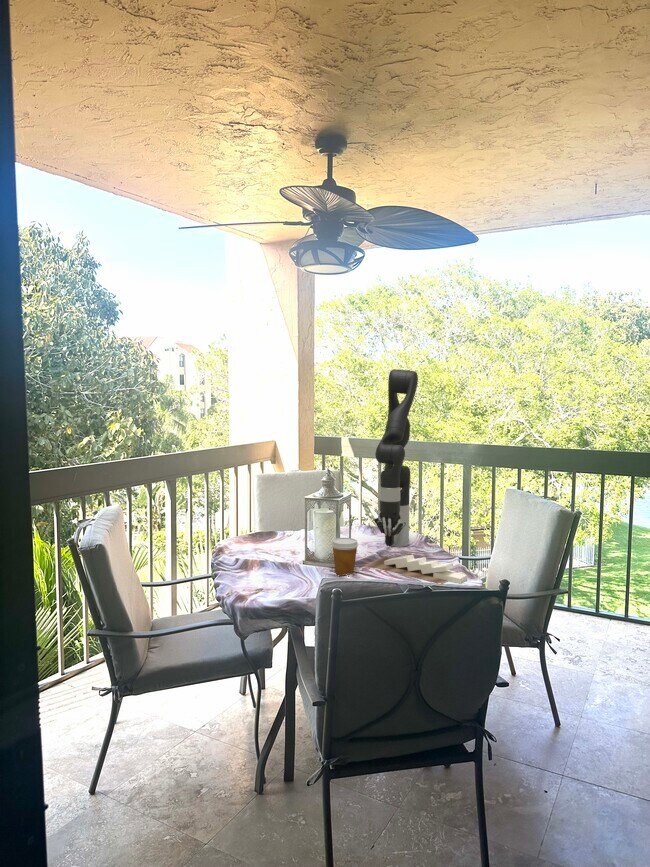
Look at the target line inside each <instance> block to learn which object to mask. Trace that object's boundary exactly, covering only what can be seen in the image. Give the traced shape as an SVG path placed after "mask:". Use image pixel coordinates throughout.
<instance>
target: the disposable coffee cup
mask: <svg viewBox="0 0 650 867" xmlns="http://www.w3.org/2000/svg"><path fill="white" fill-rule="evenodd" d="M358 546H359V542H358V541H357V539H356V538H353V537H337V538H334V539H332V542H331V548H332V553H333V561H334V569H335V575H336V576H338V575H340V576H339V577H342V576H348V575H351V574H353V573H354V572H355V567H356V565H355V564H356V558H357V550H358Z"/></svg>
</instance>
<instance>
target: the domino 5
mask: <svg viewBox="0 0 650 867" xmlns="http://www.w3.org/2000/svg"><path fill="white" fill-rule="evenodd" d="M433 577H434V578H439V579H443V580H447V581H448V582H451V583H456V584H462V583H464V582H466V581H467V580H468V575H467V574H464V573H459V572H455V571H452V570H451V571H450V570H448V571H443V572H435V573H433Z"/></svg>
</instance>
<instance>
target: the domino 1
mask: <svg viewBox="0 0 650 867" xmlns="http://www.w3.org/2000/svg"><path fill="white" fill-rule="evenodd" d="M390 558H391V559H388V560H386V561H384V564H385V566H386V565H392V564H398V563H405V562H409V561H411V560H413V559H415V555H414V554H408V555H402V556H397V557H390Z"/></svg>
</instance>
